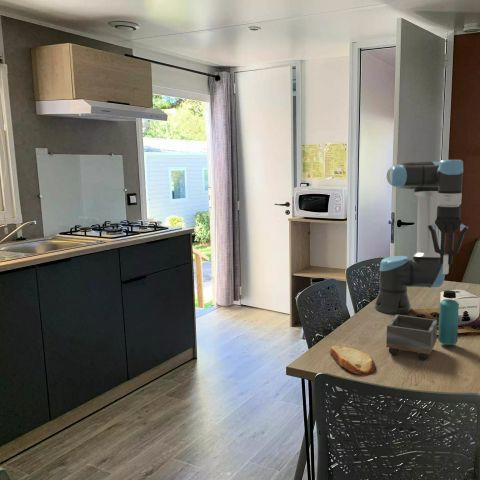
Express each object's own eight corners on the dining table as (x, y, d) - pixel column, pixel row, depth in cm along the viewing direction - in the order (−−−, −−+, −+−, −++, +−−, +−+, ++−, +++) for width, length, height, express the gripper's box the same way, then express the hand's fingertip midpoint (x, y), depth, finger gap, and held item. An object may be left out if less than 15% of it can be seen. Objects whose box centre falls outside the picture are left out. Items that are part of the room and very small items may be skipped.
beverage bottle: (459, 349, 174) (462, 293, 171) (439, 348, 176) (441, 293, 173) (455, 342, 181) (458, 289, 178) (435, 341, 182) (438, 288, 179)
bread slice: (332, 349, 178) (332, 339, 177) (383, 358, 169) (384, 347, 168) (314, 367, 162) (314, 356, 162) (369, 378, 154) (370, 367, 153)
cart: (395, 341, 182) (396, 314, 181) (436, 348, 175) (437, 319, 174) (386, 355, 170) (386, 325, 169) (429, 362, 163) (430, 332, 162)
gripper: (426, 205, 170) (423, 273, 174) (468, 207, 164) (464, 277, 168) (431, 204, 177) (428, 269, 181) (471, 205, 170) (467, 273, 174)
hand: (445, 273), depth 174 cm, fingers closed
